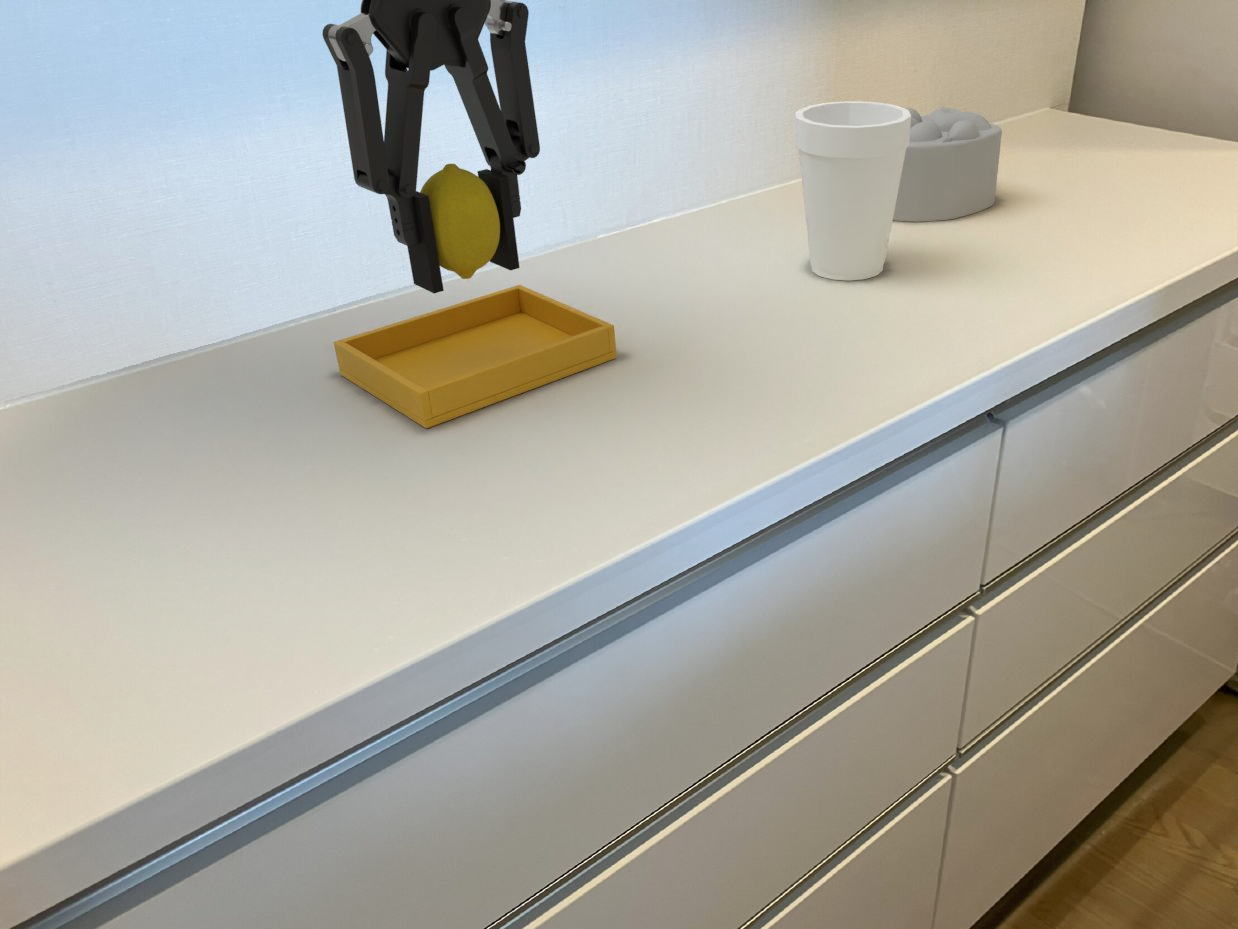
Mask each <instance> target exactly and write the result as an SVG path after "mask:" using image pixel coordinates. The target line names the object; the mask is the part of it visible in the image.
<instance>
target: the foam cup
mask: <svg viewBox="0 0 1238 929" xmlns="http://www.w3.org/2000/svg"><path fill="white" fill-rule="evenodd" d="M905 108H906V107H901V106H899V105H896V104H891V103H883V102H877V101H861V100H860V101H858V100H855V101H854V100H847V101H845V100H843V101H831V102H822V103H817V104H811V105H807V106H804V107H802V108H800V109H798V110H797V111H795V115H794V116H795V119H794V120H795V122H794V124H795V125H794V126H795V128H794V129H795V130H794V131H795V132H794V143H795V148H796V149H798V159H799V167H800V177H801V178H800V179H801V187H802V188H801V189H802V196H803V204H804V214H805V225H806V232H807V243H808V251H809V260H810V267H811V268H810V269H811V272H812V273H813V274H815V275H817V276H818V277H821V278H825V279H829V280H835V281H846V282H847V281H849V282H850V281H861V280H867V279H870V278H873V277H876V276H878V275H879V274H881V273H882V272H883V271H884V264H885V263H886V258H887V253H888V252H887V251H888V246H889V242H890V237H891V231H892V225H893V221H894V220H893V216H894V210H895V205H896V200H897V195H898V189H899V184H900V179H901V174H902V168H903V163H904V158H905V152H906V147H908V146H909V142H910V126H911V114H910V112H909V110H907V109H905Z"/></svg>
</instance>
